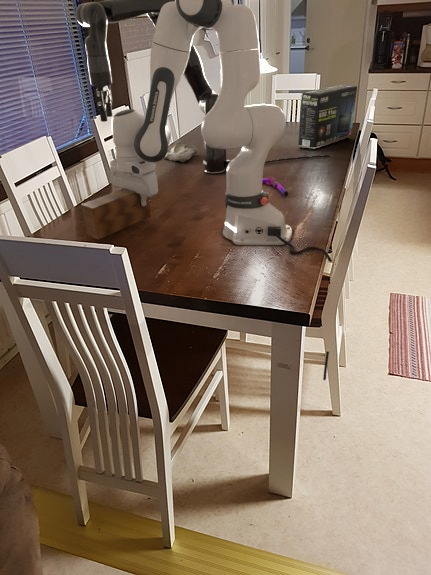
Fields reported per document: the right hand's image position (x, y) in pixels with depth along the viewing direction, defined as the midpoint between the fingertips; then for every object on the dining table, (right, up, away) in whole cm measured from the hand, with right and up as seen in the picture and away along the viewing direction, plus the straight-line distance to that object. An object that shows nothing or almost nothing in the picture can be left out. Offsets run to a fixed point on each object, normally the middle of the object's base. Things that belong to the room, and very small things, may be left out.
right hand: (135, 203), depth 156 cm
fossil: (+9, +36, +73) cm, 82 cm away
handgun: (+50, +12, +30) cm, 60 cm away
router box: (+86, +48, +88) cm, 132 cm away
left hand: (-13, +33, +11) cm, 37 cm away
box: (-5, -8, -2) cm, 10 cm away
